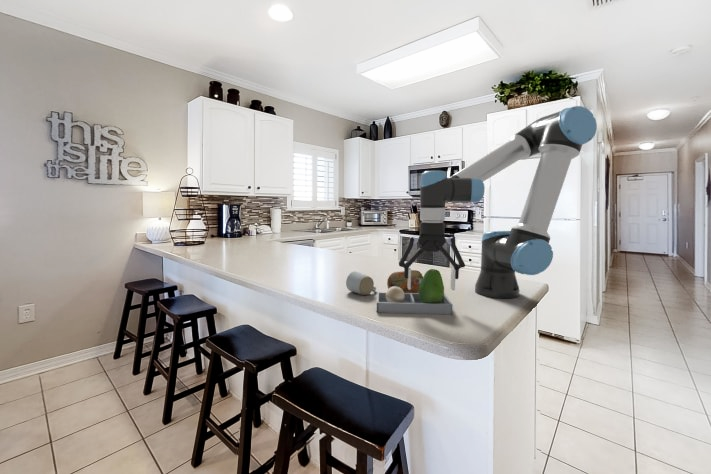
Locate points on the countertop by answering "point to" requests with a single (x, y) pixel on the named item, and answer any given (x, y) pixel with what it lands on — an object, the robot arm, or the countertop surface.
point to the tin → (405, 281)
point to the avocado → (431, 287)
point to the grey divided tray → (413, 305)
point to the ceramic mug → (360, 283)
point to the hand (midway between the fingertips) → (430, 288)
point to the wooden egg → (395, 295)
